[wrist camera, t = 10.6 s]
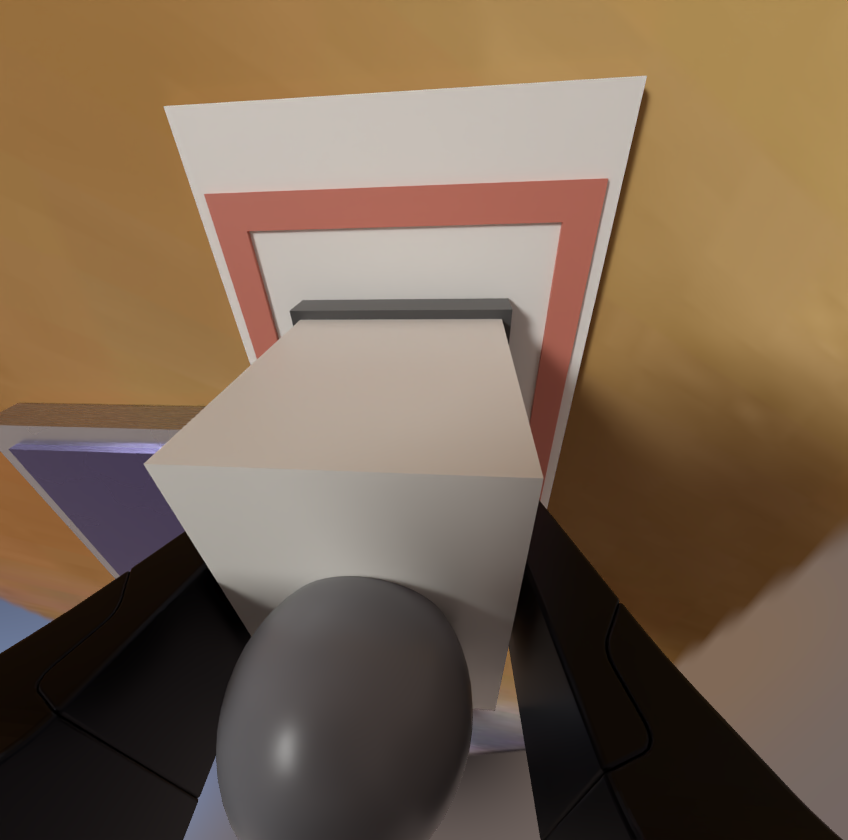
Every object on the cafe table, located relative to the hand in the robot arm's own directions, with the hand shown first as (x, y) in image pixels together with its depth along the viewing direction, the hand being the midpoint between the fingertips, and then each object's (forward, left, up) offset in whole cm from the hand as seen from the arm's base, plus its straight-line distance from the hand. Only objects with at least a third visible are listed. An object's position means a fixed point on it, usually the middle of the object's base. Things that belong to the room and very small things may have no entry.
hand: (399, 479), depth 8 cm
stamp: (0, 0, -2) cm, 2 cm away
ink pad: (-4, +9, -3) cm, 10 cm away
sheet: (0, 0, -3) cm, 3 cm away
